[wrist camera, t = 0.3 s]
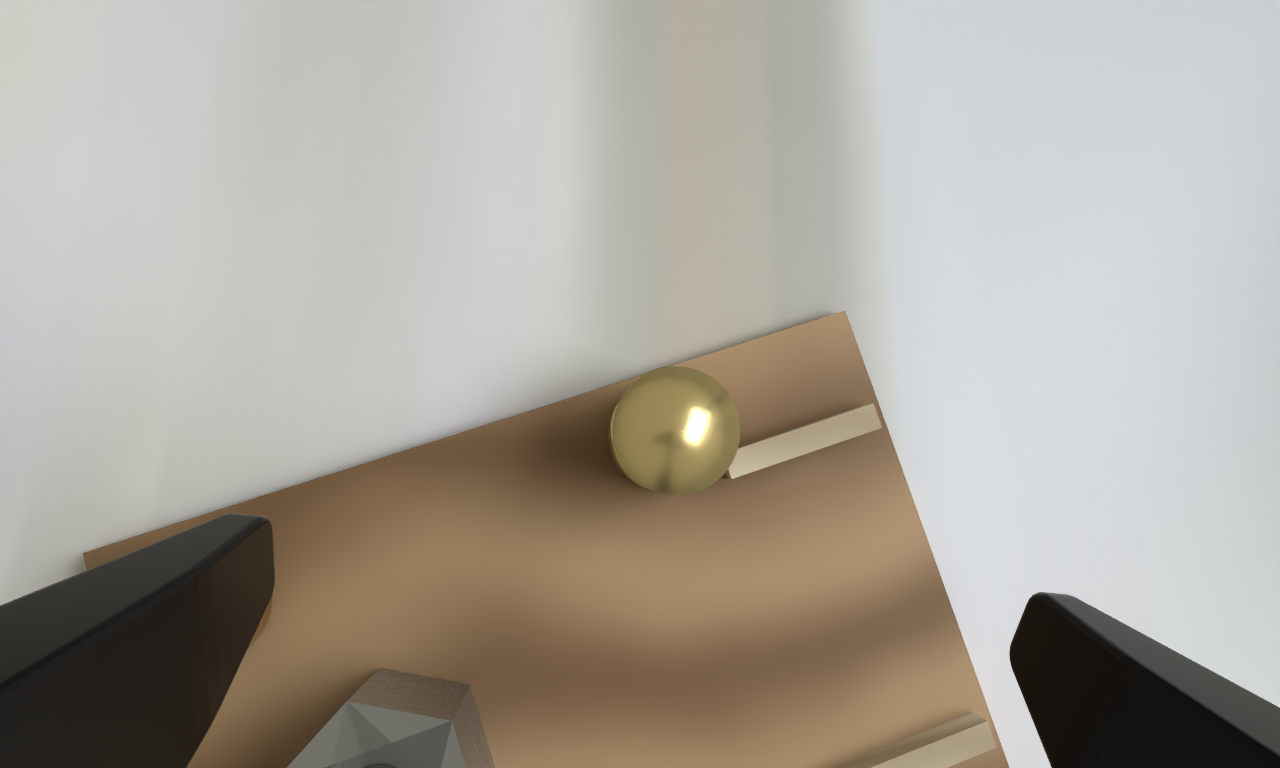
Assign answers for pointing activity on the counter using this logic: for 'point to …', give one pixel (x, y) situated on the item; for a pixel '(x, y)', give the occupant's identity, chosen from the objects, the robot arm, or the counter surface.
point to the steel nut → (402, 727)
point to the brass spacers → (666, 435)
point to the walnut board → (626, 589)
